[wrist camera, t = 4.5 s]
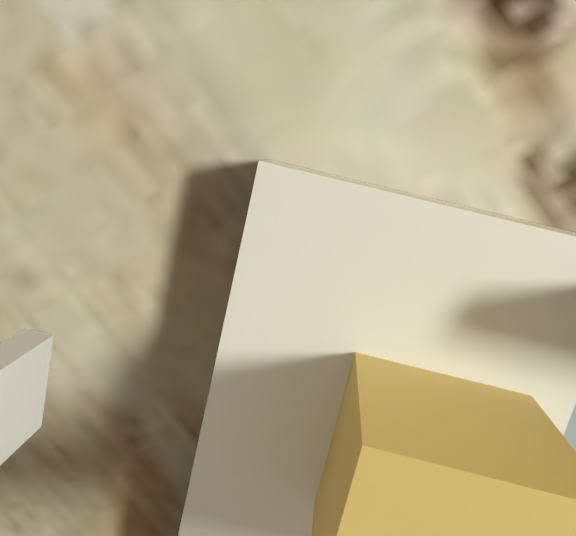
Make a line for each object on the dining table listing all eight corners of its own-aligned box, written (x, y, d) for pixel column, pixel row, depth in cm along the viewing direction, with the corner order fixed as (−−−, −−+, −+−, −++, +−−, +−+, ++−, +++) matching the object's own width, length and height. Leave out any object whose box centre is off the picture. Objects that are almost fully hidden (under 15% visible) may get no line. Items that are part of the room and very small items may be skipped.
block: (314, 504, 16) (303, 652, 11) (355, 352, 15) (362, 445, 10) (477, 546, 16) (537, 716, 11) (531, 395, 15) (623, 511, 10)
